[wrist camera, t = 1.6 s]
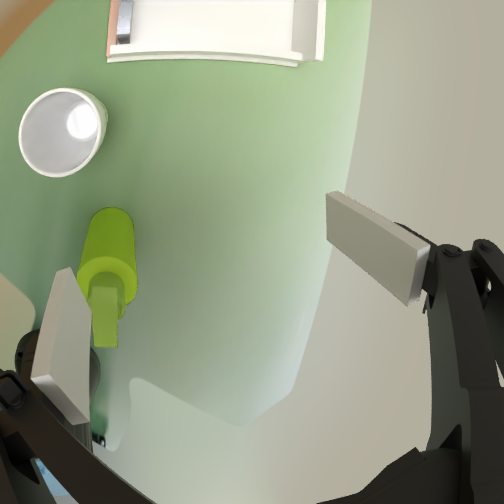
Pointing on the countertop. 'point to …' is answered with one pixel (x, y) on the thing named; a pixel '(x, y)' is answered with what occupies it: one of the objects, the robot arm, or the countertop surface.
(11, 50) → the countertop surface
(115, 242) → the soap dispenser
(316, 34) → the pusher lane
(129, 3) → the pusher plate
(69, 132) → the white tumbler cup
